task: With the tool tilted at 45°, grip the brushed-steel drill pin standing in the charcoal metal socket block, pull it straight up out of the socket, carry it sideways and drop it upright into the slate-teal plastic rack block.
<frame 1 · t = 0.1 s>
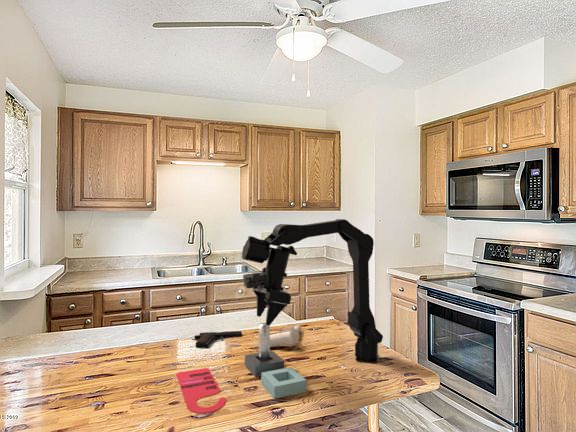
hand: (262, 320, 109), 15 cm above the table, tool pointing down, fingers open, 9 cm apart
toilet paper hanger: (285, 340, 139), on the table
handgun: (219, 342, 137), on the table
door hanger: (200, 391, 100), on the table
steel pin: (264, 346, 114), in the socket block
rack block: (283, 387, 101), on the table
socket block: (264, 368, 114), on the table
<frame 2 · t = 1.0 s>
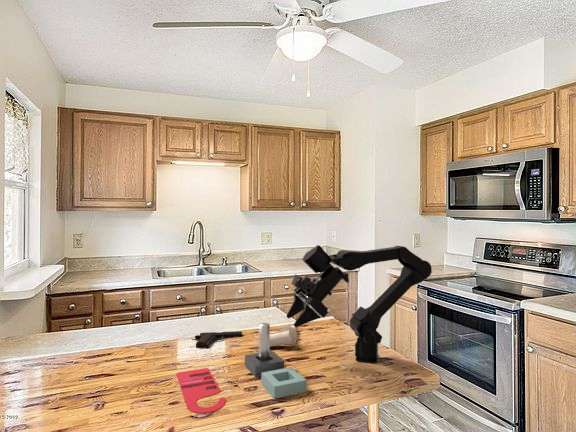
hand: (290, 321, 115), 13 cm above the table, tool tilted 45°, fingers open, 9 cm apart
toilet paper hanger: (283, 340, 140), on the table
everything else where it was.
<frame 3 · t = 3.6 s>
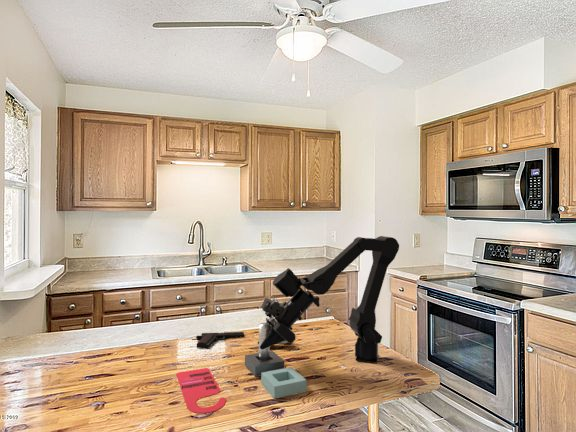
hand: (259, 346, 113), 7 cm above the table, tool tilted 45°, fingers closed on steel pin, 3 cm apart
toilet paper hanger: (275, 339, 141), on the table
steel pin: (264, 346, 114), in the socket block, touching gripper
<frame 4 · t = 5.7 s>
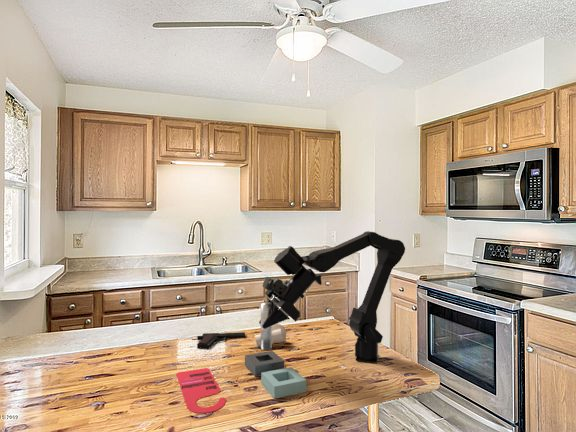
hand: (261, 325, 111), 13 cm above the table, tool tilted 45°, fingers closed on steel pin, 3 cm apart
toilet paper hanger: (269, 338, 141), on the table
steel pin: (266, 325, 111), point 13 cm above the table, touching gripper
when the fingers open (8 cm above the table, at t = 8.2 s): steel pin drops 1 cm, resting in rack block.
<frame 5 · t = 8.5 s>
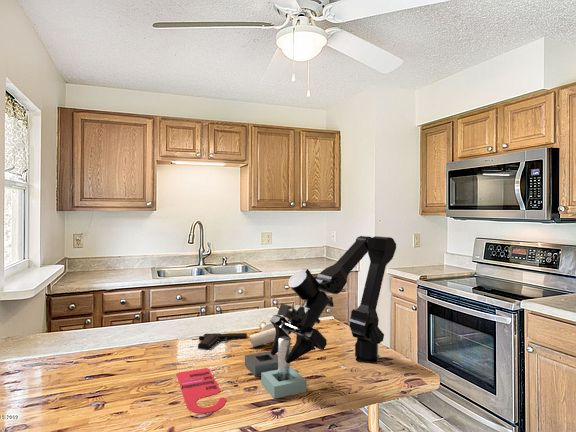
hand: (279, 358, 101), 8 cm above the table, tool tilted 45°, fingers open, 6 cm apart
toilet paper hanger: (260, 338, 141), on the table
steel pin: (284, 363, 101), in the rack block
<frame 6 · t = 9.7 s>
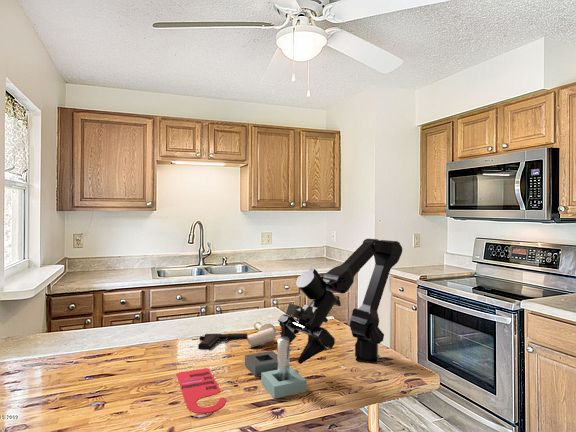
hand: (288, 357, 102), 8 cm above the table, tool tilted 45°, fingers open, 9 cm apart
toilet paper hanger: (257, 338, 141), on the table
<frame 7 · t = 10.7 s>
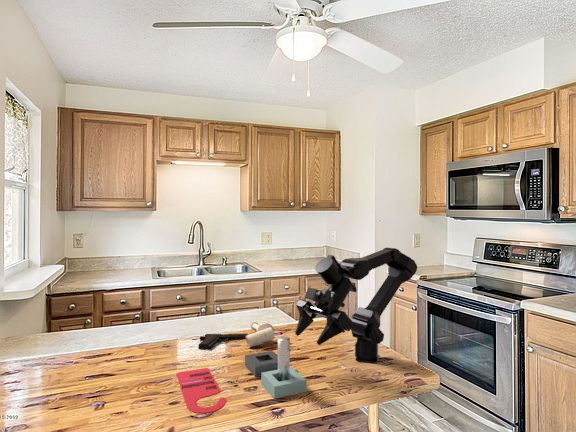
hand: (306, 339, 106), 11 cm above the table, tool tilted 45°, fingers open, 9 cm apart
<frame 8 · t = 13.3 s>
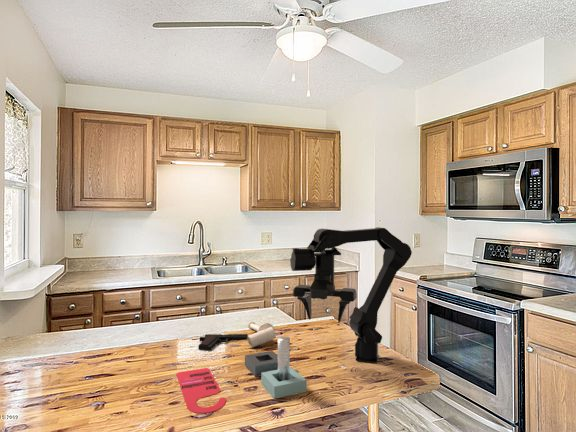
hand: (324, 320, 118), 13 cm above the table, tool pointing down, fingers open, 9 cm apart
at the end: steel pin 0.0 cm off-centre on the rack block, point 6.5 cm above the rack block's base; steel pin tilted 0°; the gripper is holding nothing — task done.
